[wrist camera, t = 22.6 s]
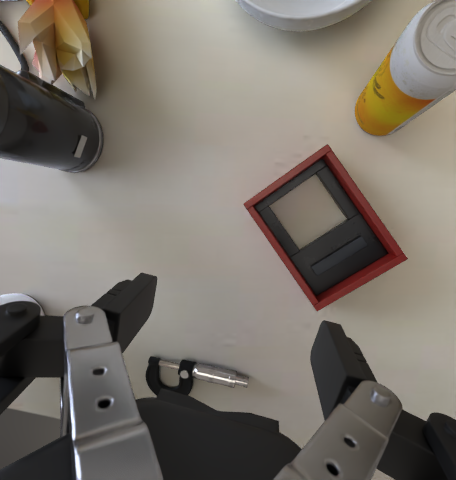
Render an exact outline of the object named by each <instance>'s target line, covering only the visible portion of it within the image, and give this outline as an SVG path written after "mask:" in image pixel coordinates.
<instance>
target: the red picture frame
mask: <svg viewBox="0 0 456 480" xmlns="http://www.w3.org/2000/svg"><path fill="white" fill-rule="evenodd" d="M315 173H316V175H317V176H318V178H319V179H320V181H321V182H322V184H323V185H324V186H325V188H326V189H327V191H328V192H329V194H330V195H331V196H332V198H333V199H334V201H335V202H336V204H337V205H338V207H339V208H340V209H341V211H342V212H343V214H344V215H345V217H346V218H347V220H346V221H344V222H343V223H341V224H339V225H338V226H336V227H335V228H333V229H332V230H330V231H328V232H327V233H325V234H324V235H322V236H321V237H319V238H317V239H316V240H314V241H313V242H311V243H310V244H308V245H307V246H305V247H303V248H302V249H300V250H299V249H298V247H297V246H296V244H295V243H294V242H293V240H292V239H291V237H290V236H289V234H288V233H287V231H286V230H285V228H284V227H283V226H282V224H281V223H280V221H279V220H278V218H277V217H276V215H275V214H274V213H273V211H272V210H271V208H270V207H269V205H271V204H272V203H274V202H275V201H276V200H278V199H279V198H281V197H282V196H284V195H285V194H287V193H288V192H289V191H291V190H292V189H294V188H295V187H297V186H298V185H300V184H301V183H302V182H304V181H305V180H307V179H308V178H310V177H311V176H312V175H314V174H315ZM244 206H245V207H246V209H247V210H248V212H249V213H250V214H251V216H252V217H253V219H254V220H255V222H256V223H257V225H258V226H259V228H260V229H261V230H262V232H263V233H264V235H265V236H266V238H267V239H268V241H269V242H270V244H271V245H272V246H273V248H274V249H275V251H276V252H277V254H278V255H279V257H280V258H281V260H282V261H283V262H284V264H285V265H286V267H287V268H288V270H289V271H290V273H291V274H292V276H293V277H294V279H295V280H296V281H297V283H298V284H299V286H300V287H301V289H302V290H303V292H304V293H305V295H306V296H307V297H308V299H309V300H310V302H311V303H312V305H313V306H314V308H315V309H316V311H318V310H320V309H322V308H324V307H325V306H327V305H329V304H331V303H332V302H334V301H336V300H338V299H339V298H341V297H343V296H344V295H346V294H348V293H350V292H351V291H353V290H355V289H357V288H358V287H360V286H362V285H364V284H365V283H367V282H369V281H370V280H372V279H374V278H376V277H377V276H379V275H381V274H383V273H384V272H386V271H388V270H389V269H391V268H393V267H395V266H396V265H398V264H400V263H402V262H403V261H405V260H407V259H408V258H407V257H406V255H405V254H404V253H403V251H402V250H401V248H400V247H399V246H398V244H397V243H396V241H395V240H394V238H393V237H392V236H391V234H390V233H389V231H388V230H387V228H386V227H385V225H384V224H383V223H382V221H381V220H380V218H379V217H378V215H377V214H376V213H375V211H374V210H373V208H372V207H371V205H370V204H369V203H368V201H367V200H366V198H365V197H364V195H363V194H362V193H361V191H360V190H359V188H358V187H357V185H356V184H355V183H354V181H353V180H352V178H351V177H350V175H349V174H348V172H347V171H346V170H345V168H344V167H343V165H342V164H341V162H340V161H339V160H338V158H337V157H336V155H335V154H334V152H333V151H332V150H331V148H330V147H329V145H328V144H327V145H326V146H324V147H323V148H321V149H320V150H319V151H317V152H316V153H314V154H313V155H312V156H310V157H309V158H307V159H306V160H305V161H303V162H302V163H300V164H299V165H298V166H296V167H295V168H293V169H292V170H290V171H289V172H288V173H286V174H285V175H283V176H282V177H281V178H279V179H278V180H276V181H275V182H274V183H272V184H271V185H269V186H268V187H267V188H265V189H264V190H262V191H261V192H260V193H258V194H257V195H255V196H254V197H253V198H251V199H250V200H248V201H247V202H246V203H244Z"/></svg>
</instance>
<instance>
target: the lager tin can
mask: <svg viewBox="0 0 456 480" xmlns="http://www.w3.org/2000/svg"><path fill="white" fill-rule="evenodd" d="M455 90H456V0H436V1H434V2H432V3H430V4H428V5H427V6H425V7H424V8H422V9H421V10H420V11H419V12H418V13H417V14H416V15H415V16H414V17H413V19H412V20H411V21H410V23H409V24H408V25H407V27H406V28H405V30H404V31H403V33H402V34H401V36H400V37H399V39H398V40H397V42H396V43H395V45H394V46H393V47H392V49H391V50H390V52H389V53H388V55H387V56H386V58H385V59H384V61H383V62H382V64H381V65H380V67H379V68H378V69H377V71H376V72H375V74H374V75H373V77H372V78H371V80H370V81H369V83H368V84H367V86H366V87H365V89H364V90H363V92H362V93H361V94H360V96H359V98H358V100H357V102H356V106H355V117H356V120H357V122H358V124H359V126H360V127H361V128H362V129H363V130H364V131H366V132H367V133H370V134H372V135H378V136H383V135H388V134H391V133H394V132H396V131H397V130H399V129H400V128H402V127H403V126H405V125H406V124H407V123H409V122H410V121H412V120H413V119H415V118H416V117H417V116H419V115H420V114H422V113H423V112H425V111H426V110H428V109H429V108H430V107H432V106H433V105H435V104H436V103H438V102H439V101H441V100H442V99H443V98H445V97H446V96H448V95H449V94H451V93H452V92H453V91H455Z"/></svg>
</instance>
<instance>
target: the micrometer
mask: <svg viewBox="0 0 456 480" xmlns="http://www.w3.org/2000/svg"><path fill="white" fill-rule="evenodd" d="M148 363H149V365H148V368H147V371H146V381H147V384H148V386H149V388H150V389H151V390H152V392H153V393H154V394H156V395H157V396H158V394H159V392H160V389H161V388H163V389H166V390H170V391H173V392H177V393H181V394H184V395H189V393H190V391H191V389H192V385H193V379H192V378H193V377H195V378H196V379H199V380H203V381H207V382H210V383H216V384H221V385H225V386H228V387H232V388H234V387H235V384H236V385H240V386H244V387H246V388H247V386H248V379H249V377H246V376H245V377H243V376H238V375H237V371H233V370H227V369H222V368H218V367H215V366H209V365H204V364H196V363H195V362H191V361H186V360H182V361H181V362H180V364H179V363H174V362H170V361H165V360H161V359H160V358H156V357H150V358H149V361H148ZM159 366H164V367H168V368H173V369H177V370H178V374H179V375H180V380H179V385H178V386H177V387H175V388H168V387H166V386H164V385H163V384H162V383H161V381H160V379H159Z"/></svg>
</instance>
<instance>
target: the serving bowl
mask: <svg viewBox="0 0 456 480" xmlns="http://www.w3.org/2000/svg"><path fill="white" fill-rule="evenodd" d="M370 1H371V0H236V2H237V3H238V4H239V5H240V6H241V7H242V8H243V9H244V10H245V11H246V12H247V13H248V14H250V15H251V16H252V17H254V18H255V19H257V20H258V21H260V22H262V23H264V24H266V25H268V26H271V27H273V28H277V29H281V30H286V31H311V30H316V29H321V28H324V27H328V26H330V25H333V24H336V23H338V22H340V21H342V20H344V19H346V18H348V17H350V16H351V15H353V14H354V13H356V12H357V11H359V10H360V9H362V8H363V7H364V6H366V5H367V4H368V3H369V2H370Z"/></svg>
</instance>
